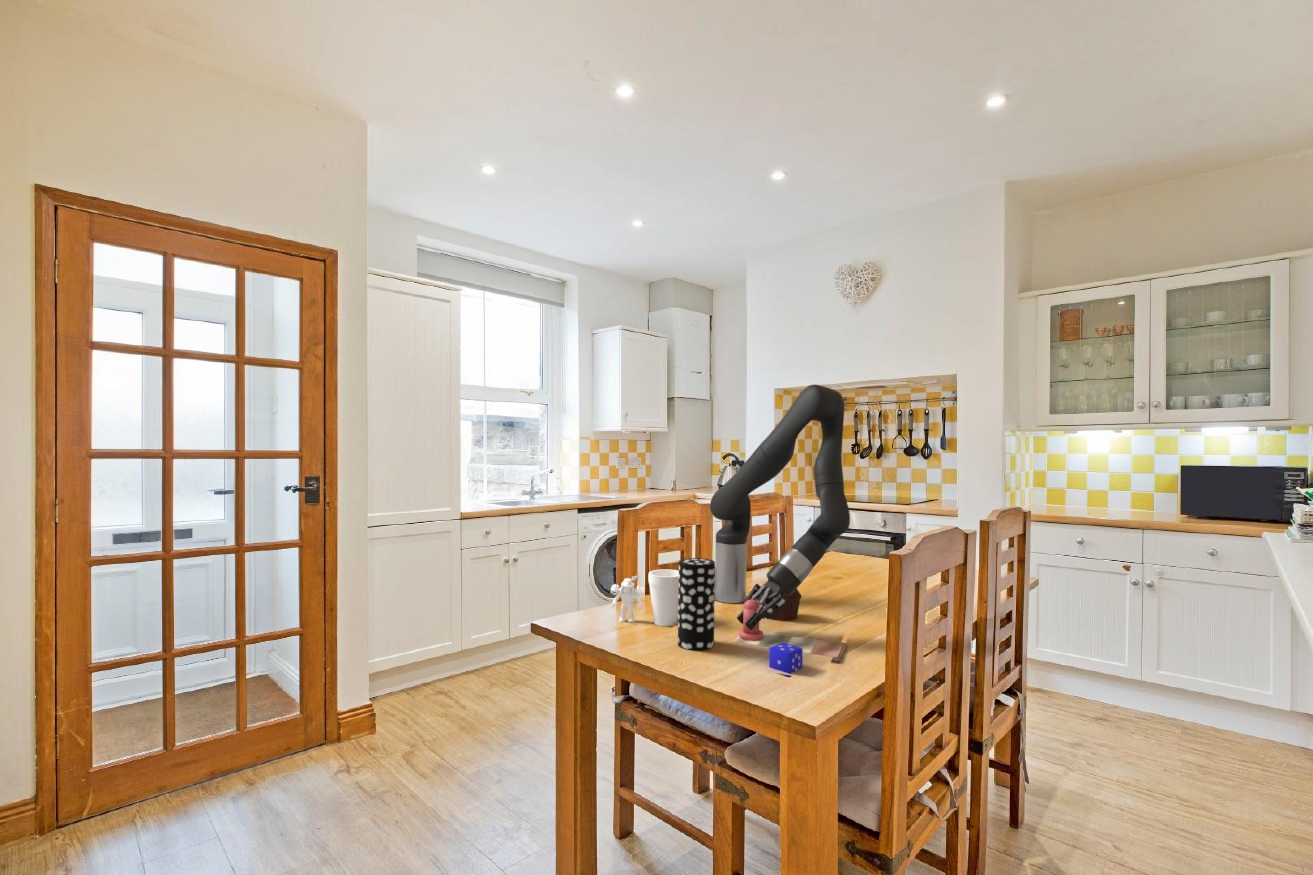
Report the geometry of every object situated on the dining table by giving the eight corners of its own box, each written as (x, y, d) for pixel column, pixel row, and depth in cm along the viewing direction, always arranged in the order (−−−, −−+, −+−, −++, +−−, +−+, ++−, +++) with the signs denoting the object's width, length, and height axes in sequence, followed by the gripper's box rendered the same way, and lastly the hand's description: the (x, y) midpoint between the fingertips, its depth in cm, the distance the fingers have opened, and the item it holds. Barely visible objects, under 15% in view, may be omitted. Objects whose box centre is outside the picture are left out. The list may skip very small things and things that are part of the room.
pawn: (736, 638, 151) (736, 601, 150) (743, 632, 156) (743, 595, 156) (759, 642, 148) (759, 603, 148) (765, 635, 153) (765, 598, 153)
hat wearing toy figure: (644, 619, 168) (645, 574, 168) (642, 623, 164) (642, 577, 164) (611, 617, 170) (612, 572, 169) (608, 621, 166) (608, 575, 166)
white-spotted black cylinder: (717, 653, 143) (719, 564, 142) (681, 655, 141) (682, 565, 141) (708, 641, 151) (709, 557, 151) (674, 642, 149) (675, 558, 149)
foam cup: (642, 625, 163) (643, 574, 163) (655, 615, 171) (656, 568, 171) (677, 629, 159) (677, 578, 159) (688, 620, 168) (689, 571, 168)
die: (768, 671, 132) (769, 647, 132) (782, 665, 136) (782, 642, 136) (789, 678, 129) (789, 653, 129) (802, 671, 132) (802, 647, 132)
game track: (728, 646, 147) (728, 642, 147) (744, 630, 159) (744, 627, 159) (839, 663, 137) (839, 659, 137) (847, 645, 149) (847, 642, 149)
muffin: (751, 614, 174) (751, 578, 174) (787, 611, 177) (788, 576, 177) (771, 626, 163) (771, 588, 163) (809, 623, 166) (809, 585, 166)
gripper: (767, 555, 161) (722, 606, 157) (794, 567, 147) (745, 622, 144) (786, 575, 162) (741, 625, 159) (814, 588, 148) (766, 644, 145)
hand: (743, 623), depth 151 cm, fingers open, 4 cm apart
